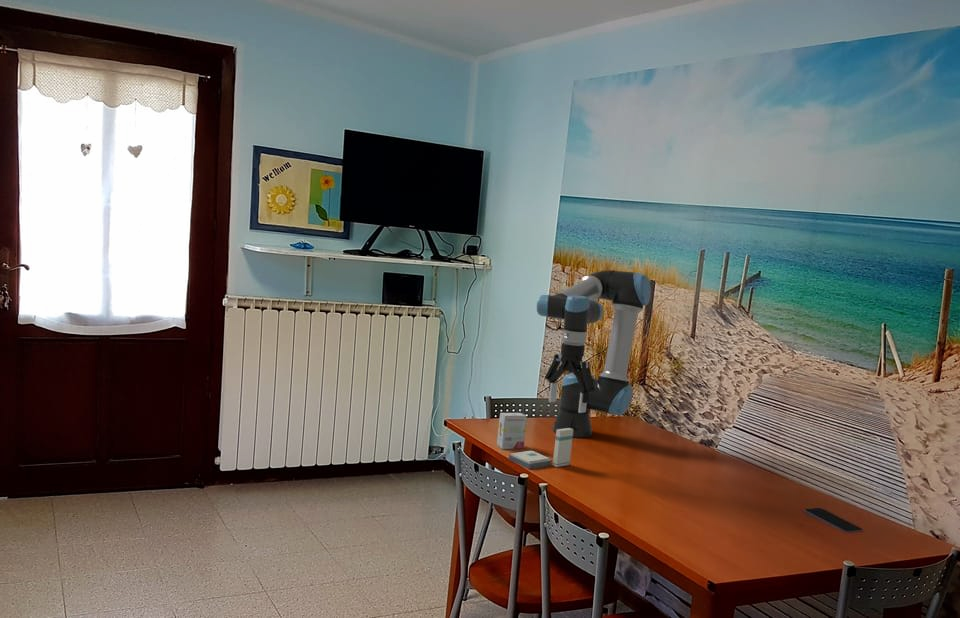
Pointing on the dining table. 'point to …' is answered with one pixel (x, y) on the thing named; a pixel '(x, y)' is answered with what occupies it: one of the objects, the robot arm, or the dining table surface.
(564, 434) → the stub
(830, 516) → the smartphone
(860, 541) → the dining table surface
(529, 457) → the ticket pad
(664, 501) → the dining table surface
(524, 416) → the ink box
